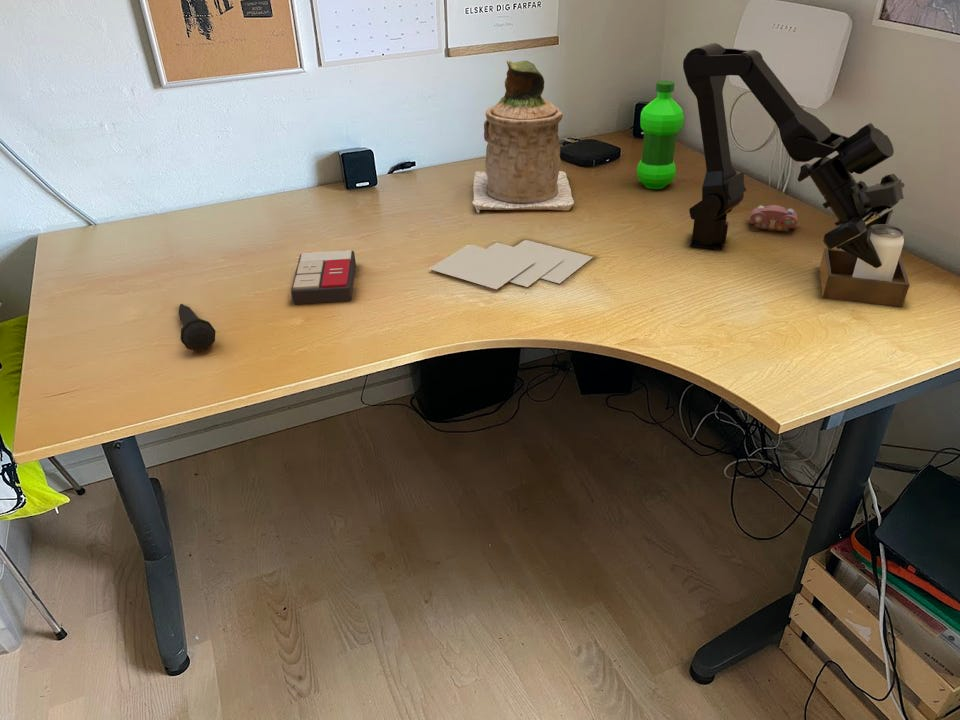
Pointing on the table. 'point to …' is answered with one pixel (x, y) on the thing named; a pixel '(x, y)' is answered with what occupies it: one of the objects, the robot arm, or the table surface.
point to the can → (882, 253)
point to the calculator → (324, 277)
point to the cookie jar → (522, 148)
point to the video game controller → (774, 217)
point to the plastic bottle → (659, 138)
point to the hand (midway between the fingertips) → (885, 260)
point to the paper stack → (511, 264)
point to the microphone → (195, 330)
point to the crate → (860, 281)
